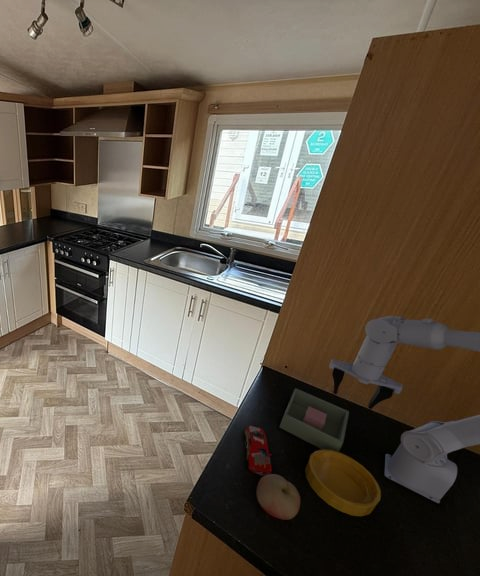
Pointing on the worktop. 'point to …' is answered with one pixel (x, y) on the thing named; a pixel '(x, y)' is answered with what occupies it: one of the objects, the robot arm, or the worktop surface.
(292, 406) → the bin
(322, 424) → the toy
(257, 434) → the race car
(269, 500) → the fruit
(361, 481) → the bowl
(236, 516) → the worktop surface
